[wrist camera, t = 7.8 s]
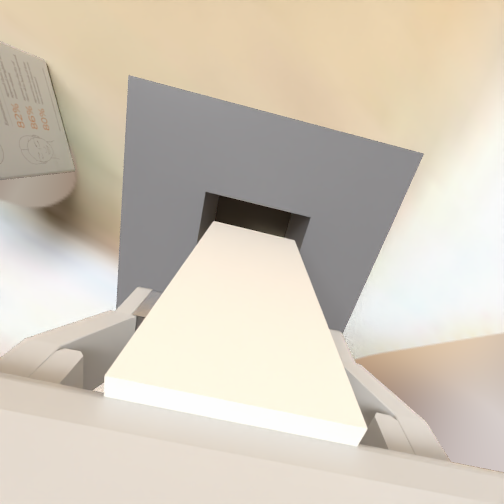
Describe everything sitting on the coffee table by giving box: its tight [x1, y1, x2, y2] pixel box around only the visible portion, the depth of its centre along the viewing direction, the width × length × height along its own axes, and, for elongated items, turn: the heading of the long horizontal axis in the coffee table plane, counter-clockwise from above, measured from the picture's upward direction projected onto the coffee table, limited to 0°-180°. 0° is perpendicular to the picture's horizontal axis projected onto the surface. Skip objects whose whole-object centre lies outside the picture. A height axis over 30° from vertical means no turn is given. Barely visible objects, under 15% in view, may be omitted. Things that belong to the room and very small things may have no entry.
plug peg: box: [104, 221, 368, 446], centre depth 9 cm, size 4×4×11 cm
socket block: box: [116, 75, 424, 334], centre depth 20 cm, size 16×16×7 cm
